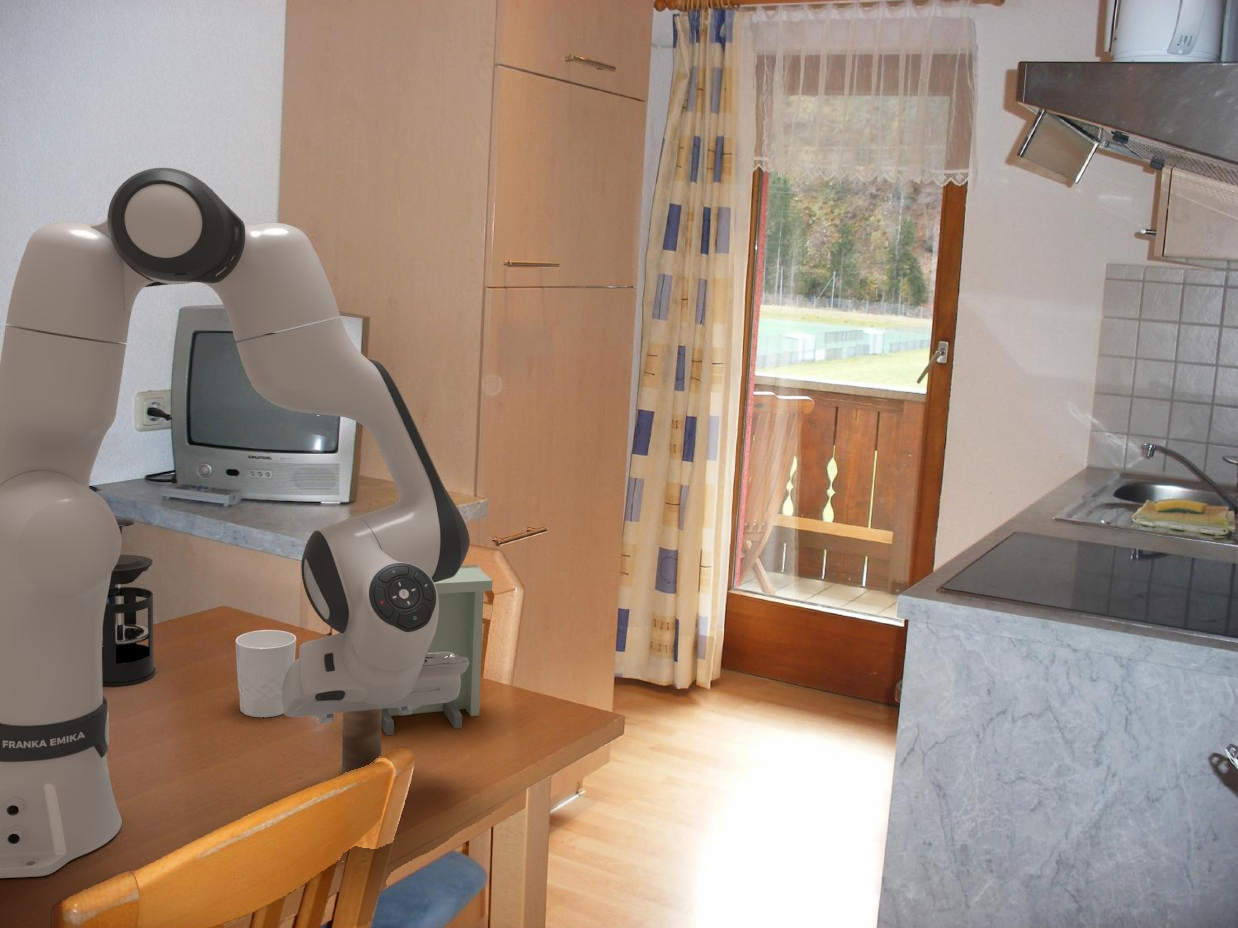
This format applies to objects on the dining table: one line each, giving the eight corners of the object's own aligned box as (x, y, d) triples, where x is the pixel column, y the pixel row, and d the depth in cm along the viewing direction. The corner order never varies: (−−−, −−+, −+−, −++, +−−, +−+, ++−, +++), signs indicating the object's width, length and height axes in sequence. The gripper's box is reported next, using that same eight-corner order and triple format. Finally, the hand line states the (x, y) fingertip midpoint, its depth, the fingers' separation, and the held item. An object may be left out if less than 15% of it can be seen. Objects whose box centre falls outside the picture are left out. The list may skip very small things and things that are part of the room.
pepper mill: (345, 780, 140) (346, 692, 139) (339, 764, 145) (340, 679, 143) (383, 776, 142) (385, 689, 140) (376, 760, 146) (378, 676, 144)
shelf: (360, 738, 153) (363, 587, 149) (350, 716, 160) (352, 570, 156) (486, 726, 159) (492, 580, 156) (471, 704, 166) (476, 565, 163)
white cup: (278, 722, 156) (278, 650, 155) (224, 715, 158) (224, 644, 156) (305, 702, 164) (306, 633, 162) (253, 695, 165) (254, 627, 164)
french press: (168, 665, 175) (167, 514, 171) (148, 687, 166) (146, 529, 162) (87, 663, 174) (84, 511, 170) (62, 685, 165) (58, 526, 161)
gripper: (468, 630, 136) (445, 681, 147) (286, 643, 129) (276, 696, 139) (476, 680, 133) (453, 728, 144) (290, 696, 125) (280, 746, 136)
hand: (365, 713), depth 141 cm, fingers open, 8 cm apart
